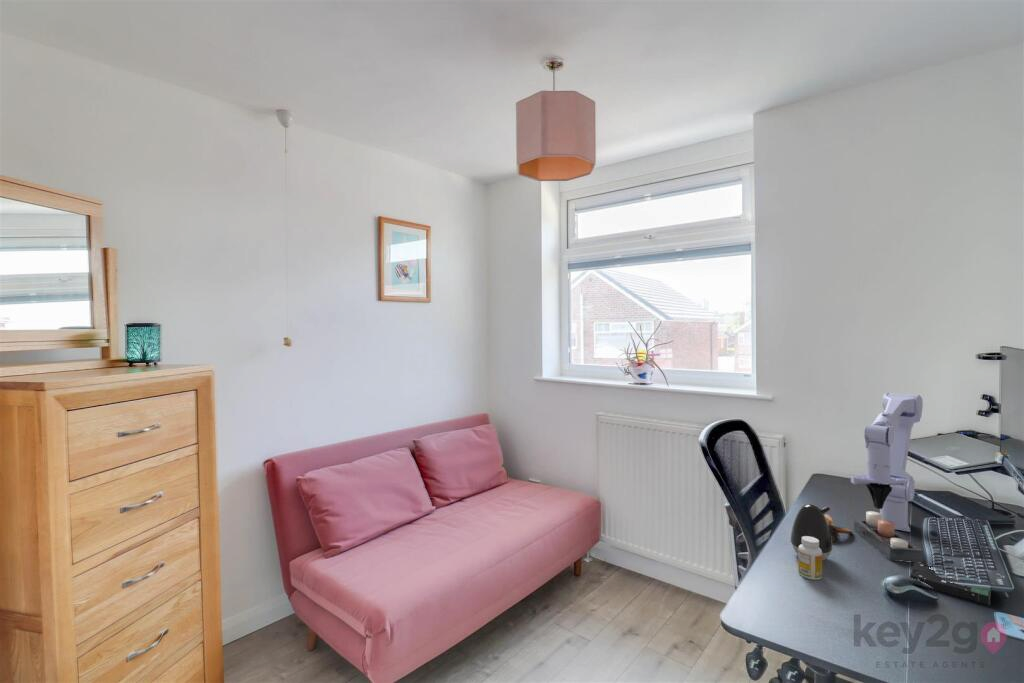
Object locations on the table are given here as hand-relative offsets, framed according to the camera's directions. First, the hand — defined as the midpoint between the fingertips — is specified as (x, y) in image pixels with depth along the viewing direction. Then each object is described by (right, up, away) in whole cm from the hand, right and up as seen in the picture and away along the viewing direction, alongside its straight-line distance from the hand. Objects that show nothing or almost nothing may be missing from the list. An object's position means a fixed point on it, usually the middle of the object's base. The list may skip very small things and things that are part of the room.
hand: (878, 507), depth 150 cm
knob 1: (0, -7, +2) cm, 7 cm away
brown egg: (-1, -7, -4) cm, 8 cm away
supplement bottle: (-34, -11, -21) cm, 42 cm away
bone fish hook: (-10, -10, +5) cm, 15 cm away
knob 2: (-3, -10, -11) cm, 15 cm away
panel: (-1, -10, -4) cm, 11 cm away
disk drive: (-2, -11, -27) cm, 30 cm away
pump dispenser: (-28, -11, -11) cm, 32 cm away
